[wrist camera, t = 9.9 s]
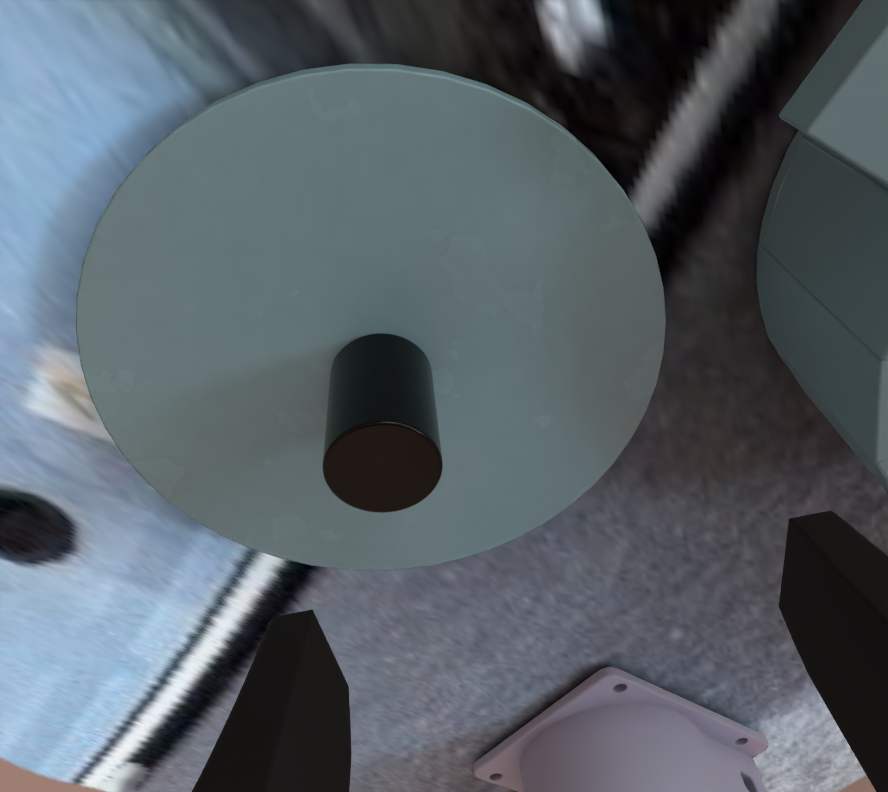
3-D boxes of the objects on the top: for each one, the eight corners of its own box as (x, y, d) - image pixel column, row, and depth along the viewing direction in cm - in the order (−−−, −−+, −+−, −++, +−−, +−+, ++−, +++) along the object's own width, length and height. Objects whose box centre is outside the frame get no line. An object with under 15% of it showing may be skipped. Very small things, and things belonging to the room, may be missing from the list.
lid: (483, 589, 24) (503, 719, 20) (37, 458, 20) (-41, 593, 16) (767, 231, 17) (872, 327, 14) (191, -89, 13) (119, -74, 9)
